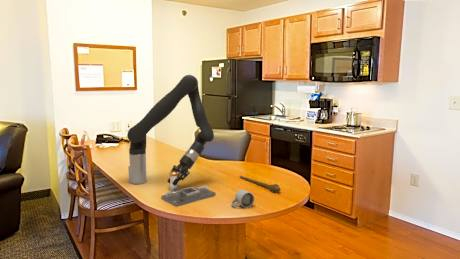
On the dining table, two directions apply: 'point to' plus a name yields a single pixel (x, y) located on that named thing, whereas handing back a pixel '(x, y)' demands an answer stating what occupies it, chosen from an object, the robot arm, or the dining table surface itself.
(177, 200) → the coupling base
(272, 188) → the torque wrench
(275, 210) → the dining table surface
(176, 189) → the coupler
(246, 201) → the ceramic mug
